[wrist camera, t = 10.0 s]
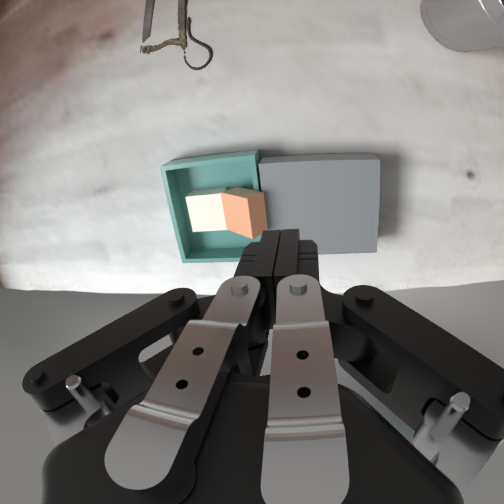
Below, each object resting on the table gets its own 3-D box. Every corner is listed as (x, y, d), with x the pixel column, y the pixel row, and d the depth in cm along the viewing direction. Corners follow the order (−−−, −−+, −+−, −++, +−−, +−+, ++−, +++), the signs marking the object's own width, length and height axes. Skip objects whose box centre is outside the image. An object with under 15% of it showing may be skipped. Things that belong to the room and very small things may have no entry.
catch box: (258, 149, 37) (254, 155, 34) (269, 248, 43) (266, 260, 40) (170, 160, 39) (160, 166, 36) (190, 251, 46) (182, 262, 43)
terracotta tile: (263, 192, 35) (247, 198, 33) (268, 231, 37) (252, 239, 36) (236, 186, 38) (220, 192, 37) (241, 222, 41) (226, 229, 39)
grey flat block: (372, 153, 35) (380, 159, 31) (370, 238, 40) (376, 252, 37) (262, 157, 37) (258, 164, 34) (271, 241, 43) (268, 255, 39)
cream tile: (185, 196, 38) (191, 190, 40) (192, 232, 40) (198, 224, 43) (222, 193, 37) (227, 187, 39) (228, 229, 39) (232, 222, 42)
